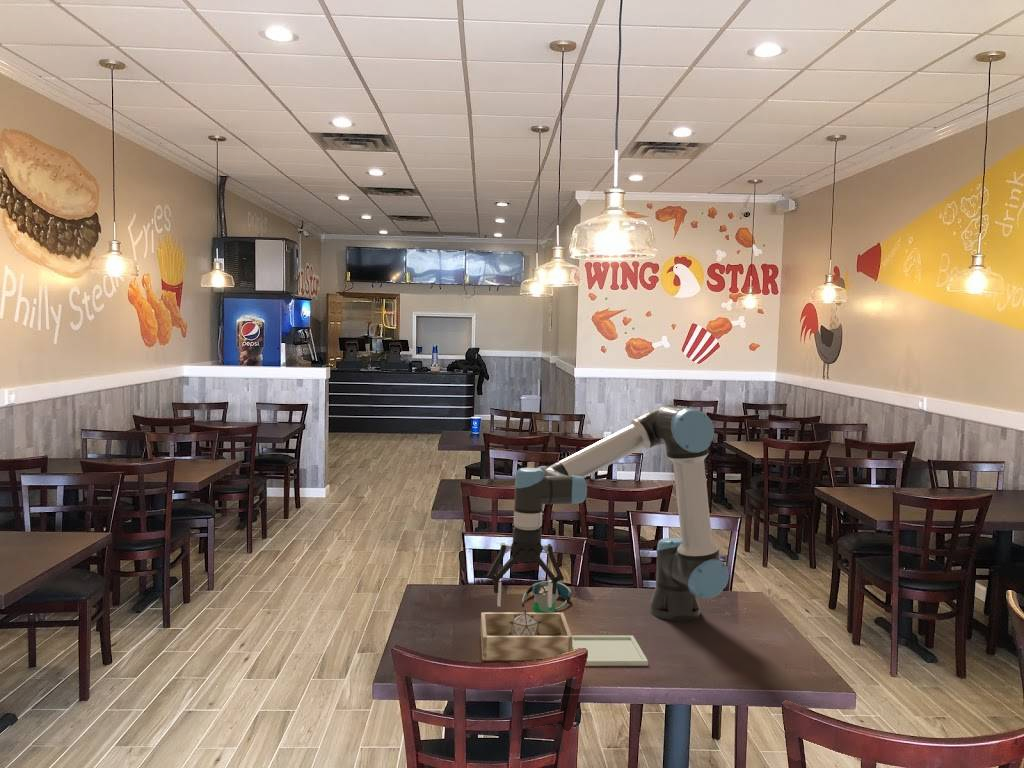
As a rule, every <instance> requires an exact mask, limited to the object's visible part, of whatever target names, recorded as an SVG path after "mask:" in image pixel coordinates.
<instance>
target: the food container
mask: <svg viewBox="0 0 1024 768" xmlns="http://www.w3.org/2000/svg"><path fill="white" fill-rule="evenodd" d="M533 596H534V597H533V613H556V611H555V609H556V602H557V601H556V600H557V599H558V598H559V595H558V591H557V589H556V594H552V607H548V584H546V583H541V584H540V589H539V590H538V591H537V594H536V595H534V594H533Z"/></svg>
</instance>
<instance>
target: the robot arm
mask: <svg viewBox="0 0 1024 768" xmlns="http://www.w3.org/2000/svg"><path fill="white" fill-rule="evenodd" d="M714 437H715V428H714V424H713V422H712V420H711V418H710V417H709V416H708V415H707V414H706V413H705V412H704V411H701V410H699V409H696V408H693V407H688V406H687V407H686V406H685V407H684V406H679V405H673V404H666V405H662V406H660V407H657V408H654V409H652V410H649V411H648V412H646V413H644V414H641V415H640V416H638V417H636V418H634V419H632V420H631V422H630V425H628V426H626V427H624V428H622V429H620V430H617V432H614V433H613V434H611V435H608V436H606V437H605V438H603V439H600V440H598V441H596V442H595V443H593V444H590V445H589V446H587V447H584V448H582V449H581V450H579V451H577V452H575V453H572V454H571V455H569V456H567V457H565V458H563V459H561V460H559V461H557V462H554V463H553V464H551V465H540V466H537V467H521V468H518V469H517V471H516V474H515V480H514V481H515V482H514V507H513V508H514V509H513V510H514V511H513V525H514V527H513V529H512V543H511V544H506V543H504V542H501V544H500V549H499V552H498V554H497V555H496V557H495V559H494V561H493V563H492V565H491V566H490V568H489V570H488V572H487V579H488V580H492V581H493V592H494V594H497V597H496V598H497V601H496V602H497V603H496V604H497V607H498V608H499V607H501V605H502V604H501V602H502V577H504V576H505V574H507V572H508V571H509V570H510V569H511V568H512V566H514V565H515V564H517V562H520V563H525V562H527V563H533V562H536V563H537V564H538V565H539V566H540V568H541V570H543V572H544V573H545V574H546V575H547V576H548V579H549V580H548V581H549V584H548V607H552V594H556V586H557V582H560V581H564V580H565V579H564V575H563V573H562V571H561V569H560V567H559V564H558V561H557V560H556V558H555V555H554V548H553V546H552V544H551V543H548V544H547V545H542V528H541V527H542V525H543V505H574V504H575V505H576V504H583V502H584V501H585V500H586V498H587V496H588V487H587V481H586V479H585V478H587V477H589V476H590V475H592V474H594V473H596V472H599V471H600V470H602V469H605V468H606V467H609V466H610V465H612V464H614V463H616V462H617V461H619V460H622V459H624V458H626V457H628V456H629V455H631V454H633V453H636V452H637V451H640V450H641V449H644V450H648V449H649V450H650V449H651V448H653V447H656V446H660V445H665V451H666V452H665V453H666V457H667V459H669V460H670V461H671V462H672V466H673V475H674V483H675V493H676V502H677V511H678V520H679V522H678V523H679V529H680V530H679V531H680V537H666V538H665V537H664V538H661V539H659V540H658V541H657V545H656V570H655V571H656V573H655V579H656V580H655V588H654V592H653V593H652V596H651V600H650V601H649V606H648V607H649V609H648V610H649V613H650V614H652V615H653V616H654V617H656V618H659V619H662V620H666V621H670V622H671V621H672V622H691V621H694V620H697V619H698V618H700V616H701V607H700V604H699V600H698V597H699V598H702V599H713V598H714V597H717V596H718V595H720V594H721V593H722V592H723V590H724V589H725V588H726V586H727V584H728V583H729V578H730V577H729V575H730V573H729V569H728V567H727V565H726V564H725V562H724V561H722V560H721V558H720V549H719V545H718V544H717V543H715V542H714V541H713V535H712V526H711V525H712V524H711V516H710V507H709V496H708V488H707V477H706V467H705V459H706V458H707V456H708V455H709V451H710V450H709V448H710V446H711V444H712V442H713V440H714ZM510 550H511V553H512V555H511V556H510V558H509V559H508V560H507V561H506V563H504V564H503V566H501V568H499V570H498V567H500V564H501V562H502V560H504V557H505V554H507V553H509V551H510ZM543 551H544V552H545V554H547V555H548V557H549V559H550V562H551V564H552V566H553V568H554V570H555V573H556V575H555V574H554V572H552V570H551V569H550V568H549V567H548V565H547V564H546V563H545V562H544V561H543V559H542V558H541V556H540V555H541V553H542V552H543ZM497 570H498V571H497ZM496 571H497V572H496Z"/></svg>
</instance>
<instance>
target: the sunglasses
mask: <svg viewBox="0 0 1024 768" xmlns="http://www.w3.org/2000/svg"><path fill="white" fill-rule="evenodd" d="M541 583H546V584H549V580H544V581H540V582H536V583H533V584H532V585H531V586H530V587H529V588H528V589H527V591H526V592H524V594H523V596H522V607H524V605H525V602H524V600H525V598H526V597H528V596H529V595H530V593H531V594H532V595H533V596H534V595H536V594H537V591H538V590H539V589H540V584H541ZM556 589H557V591H558V597H560V598H563V599H565V601H564V602H563V603H562V604H561V605H559V606H558V607H555V612H556V611H559V610H560V609H562V608H563V607H565V606H566V604H568V603H569V602H572V601H571V600H572V591H571V589H570V587H568V586H567V585H566V584H564V583H562V582H560V581H558V582H557V586H556Z"/></svg>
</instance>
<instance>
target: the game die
mask: <svg viewBox="0 0 1024 768" xmlns="http://www.w3.org/2000/svg"><path fill="white" fill-rule="evenodd" d="M523 611H524V612H525V613H524V614H521V615H519V616H517V617H516V615H514V617H515V619H514V621H513V622H511V621H510V623H512V629H511V633H509V635H508V636H540V635H539V633H537V632H538V625H539V623H541V621H539V622H537V621H536V620H535V619H534V618H533V617H534V616H533V615H532V616H530V615H528V614H527V613H528V612H527V610H526V609H524V610H523ZM526 612H527V613H526ZM510 634H512V635H510ZM537 634H538V635H537Z"/></svg>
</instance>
